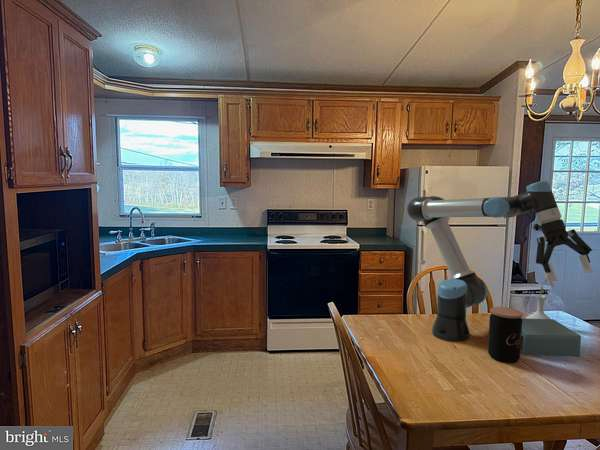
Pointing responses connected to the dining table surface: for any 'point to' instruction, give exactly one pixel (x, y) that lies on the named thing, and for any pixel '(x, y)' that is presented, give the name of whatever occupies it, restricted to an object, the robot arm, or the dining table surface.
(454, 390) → the dining table surface
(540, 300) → the flower in vase
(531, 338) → the green riser stand
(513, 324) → the coffee jar
